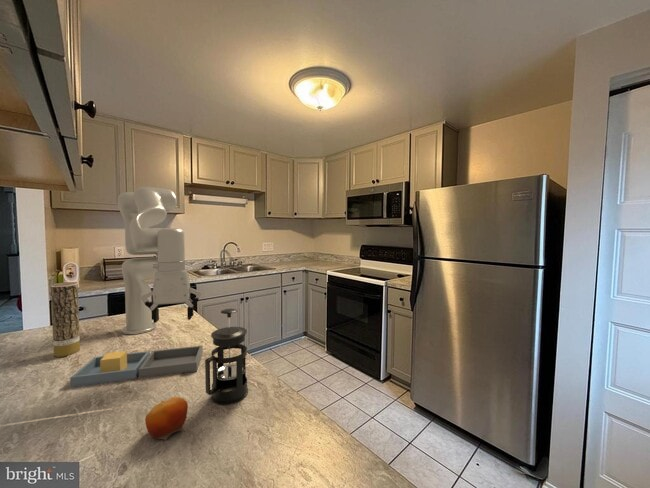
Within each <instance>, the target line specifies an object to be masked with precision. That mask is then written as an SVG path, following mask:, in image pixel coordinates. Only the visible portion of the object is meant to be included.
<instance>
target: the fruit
mask: <svg viewBox="0 0 650 488" xmlns="http://www.w3.org/2000/svg"><path fill="white" fill-rule="evenodd" d="M188 405H189V404H188V402H187V400H186V399H185V398H183V397H182V396H181V397H180V396H173V397H171V398H169V399H165V400H161V401H160V402H159V403H157V404H155V405H154V406H152V407H151V408H152V409H150V411H149V412H148V413H147V414H146V416H145V427H146V431H147V432H148V434H149V435H150V436H151V437H152V438H154V439H156V440H164V441H167V439H168V438H169V437H170V436H171V435H173V433H176V432H178V431H184V432H186V430H185V429H184V425H185V423H186V421H187V415H188V409H189V406H188Z"/></svg>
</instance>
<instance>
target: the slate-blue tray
mask: <svg viewBox="0 0 650 488" xmlns="http://www.w3.org/2000/svg"><path fill="white" fill-rule="evenodd" d="M150 354H151V351H150V350H149V351H138V352H127V367H126V368H125V369H124V370H119V371H111V372H103V373H101V372H100V360H101V359H102V358H103V357H104V356H105V355H99V356H94V357H92V358H91V359H90V360H89V361H88V362H87V363H86V364H85V365H84V366H82V367H81V368H80V369H79V370H77V372H75V373H74V374H72V376H70V379H69V380H70V387H71V388H74V387H75V388H76V387H80V386H89V385H97V384H104V383H113V382H119V381H120V382H121V381H129V380H135V379H137V378H138V377H139V368H140V367H141V366H142V364H143V363H144V362H145V360H146V359H147V358H148V356H149V355H150Z"/></svg>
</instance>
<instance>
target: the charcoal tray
mask: <svg viewBox="0 0 650 488" xmlns="http://www.w3.org/2000/svg"><path fill="white" fill-rule="evenodd" d="M202 357H203V345H193V346H186V347H176V348H166V349H157V350H152V351H150V355H149V356H148V358H147V359H146V360H145V362H144V363H143V364H142V366H141V367H140V368H139V375H138V379H142V378H151V377H158V376H165V375H166V376H167V375H172V374H173V375H174V374H188V373H189V374H190V373H197V372H198V369H199V366H200V363H201V360H202Z"/></svg>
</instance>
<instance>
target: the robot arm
mask: <svg viewBox="0 0 650 488" xmlns="http://www.w3.org/2000/svg"><path fill="white" fill-rule="evenodd" d="M117 203H118V205H117V206H118V210H119V212H120V214H121V216H122V219H123V221H124V239H125V241H124V242H125V251H126V252H127V254H129V255H131V256H142V255H143V256H145V255H155V257H134V258H129V259H125V260H124V261H123V263H122V265H121V274H122V278H123V282H124V298H125V300H124V302H125V305H124V306H125V327H123V328H121V333H122V334H123V335H138V334H144V333H148V332H150V331H153V330H154V329H157V324H156V323H158V321H159V320H160V312H159V311H160V308H159V307H158V306H159V305H169V304H170V305H172V304H173V305H174V304H184V303H185V304H186V305H187V306H188V307H186V308H187V320H188V321H191V320H192V317H194V313H195V312H194V306H195V305H196V304H197V303H198V302H199V301H200V298H201V297H202V295H203V293H202V291H200V290H197V289H195V288H193V287H191V283H190V277H189V273H188V269H186V262H185V261H186V260H185V259H186V258H185V257H186V255H185V254H186V253H185V252H186V251H185V250H186V249H185V248H186V247H185V232H184V230H183V229H181V228H167V227H165V228H161V227H160V228H159V227H154V226H157V225H159V224H161V223H163V222H164V221H165V220H166V219H167V214H168V213H170V212H172V211H174V210H175V208H176V207H177V203H178V200H177V195H176V194H175V192H174V191H173V190H172V189H169V188H161V187H153V186H141V187H138V188H136V189H135V190H134V191H132V192H131V191H130V192H129V191H128V192H126V191H125V192H123V193H120V194H119V195H118V199H117ZM153 227H154V228H153ZM150 279H153V283H152V285H153V286H152V289H151V286H150V285H149V284H148V283H147V282H146V281H145V280H150ZM191 294H194V295H195V296H196V297H194V299H193V300H192V299H191V296H192V295H191Z"/></svg>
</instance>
